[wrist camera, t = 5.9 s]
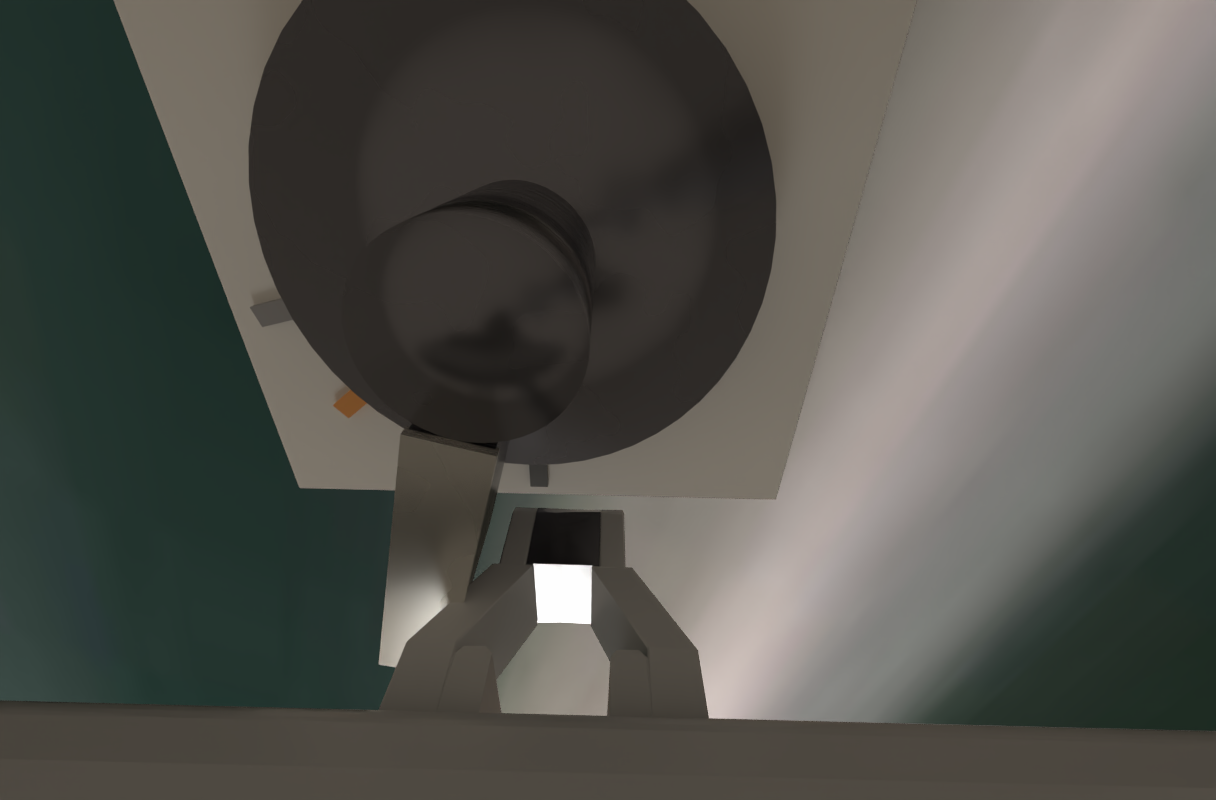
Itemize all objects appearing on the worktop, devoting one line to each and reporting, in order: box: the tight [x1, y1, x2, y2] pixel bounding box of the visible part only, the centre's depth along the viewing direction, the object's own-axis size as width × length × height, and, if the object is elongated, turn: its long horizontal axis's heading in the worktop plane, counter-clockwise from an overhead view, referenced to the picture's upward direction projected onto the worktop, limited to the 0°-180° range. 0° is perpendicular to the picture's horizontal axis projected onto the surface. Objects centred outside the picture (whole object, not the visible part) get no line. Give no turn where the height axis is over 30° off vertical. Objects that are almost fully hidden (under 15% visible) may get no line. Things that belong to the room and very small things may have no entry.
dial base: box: [114, 0, 917, 499], centre depth 11 cm, size 14×14×2 cm
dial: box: [248, 0, 776, 667], centre depth 8 cm, size 12×10×5 cm
